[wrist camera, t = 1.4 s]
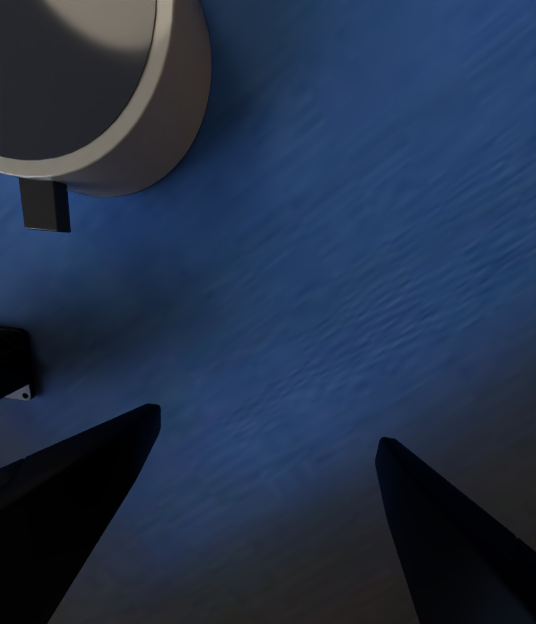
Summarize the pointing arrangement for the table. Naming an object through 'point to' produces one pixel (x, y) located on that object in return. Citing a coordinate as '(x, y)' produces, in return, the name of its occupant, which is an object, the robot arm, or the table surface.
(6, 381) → the robot arm
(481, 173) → the table surface
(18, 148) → the pot
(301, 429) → the table surface
